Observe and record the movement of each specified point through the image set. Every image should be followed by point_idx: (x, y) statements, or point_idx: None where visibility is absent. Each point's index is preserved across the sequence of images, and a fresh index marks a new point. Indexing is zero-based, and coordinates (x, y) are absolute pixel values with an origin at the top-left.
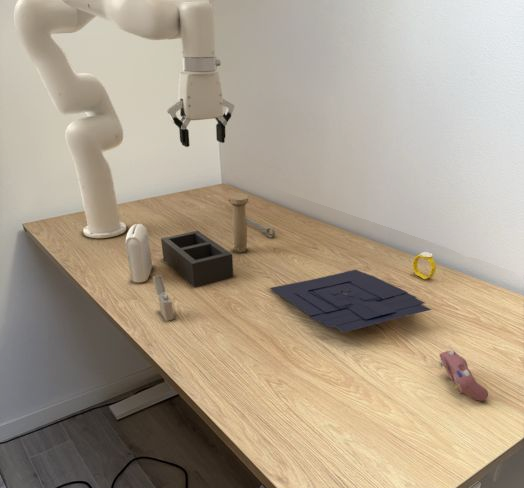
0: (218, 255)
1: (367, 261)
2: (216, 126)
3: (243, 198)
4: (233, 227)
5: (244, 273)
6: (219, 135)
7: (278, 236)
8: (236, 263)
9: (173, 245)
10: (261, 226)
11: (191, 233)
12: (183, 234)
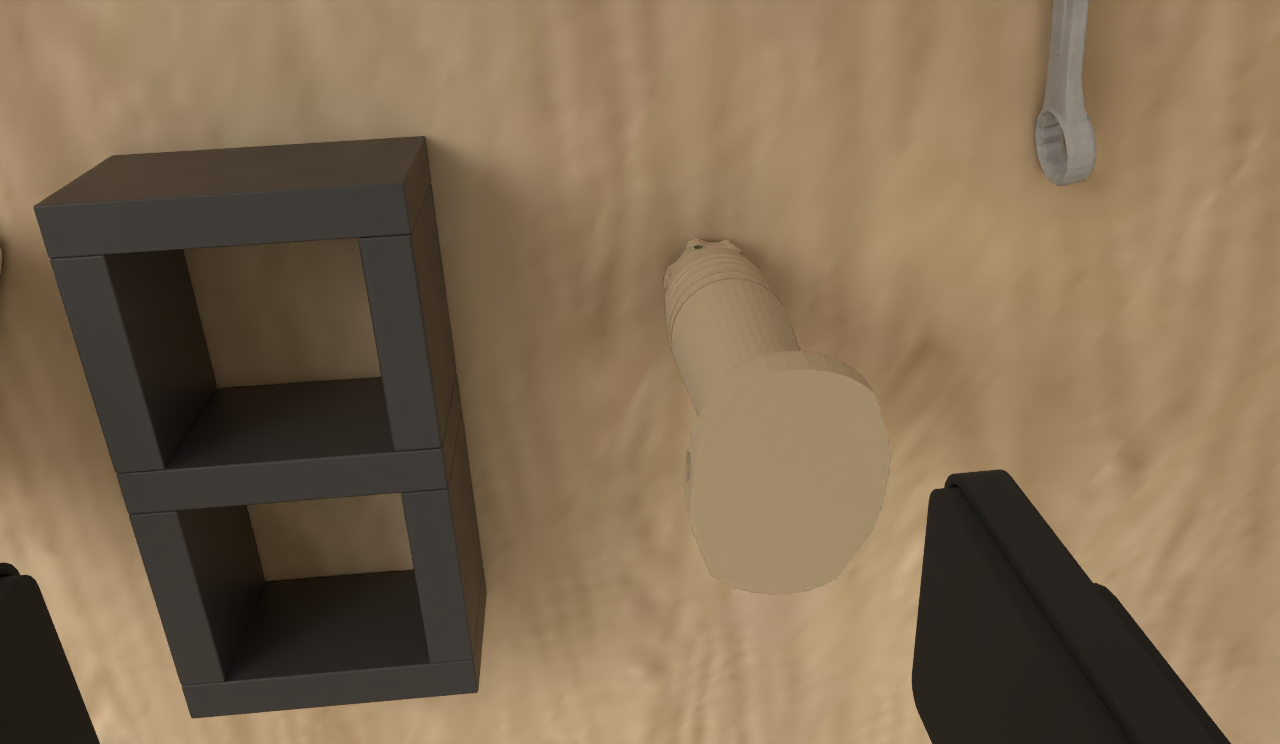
0: (388, 679)
1: (1206, 708)
2: (1088, 742)
3: (792, 570)
4: (677, 356)
5: (564, 579)
6: (967, 713)
7: (1100, 152)
8: (583, 443)
9: (121, 404)
10: (1067, 30)
11: (327, 225)
12: (252, 216)
